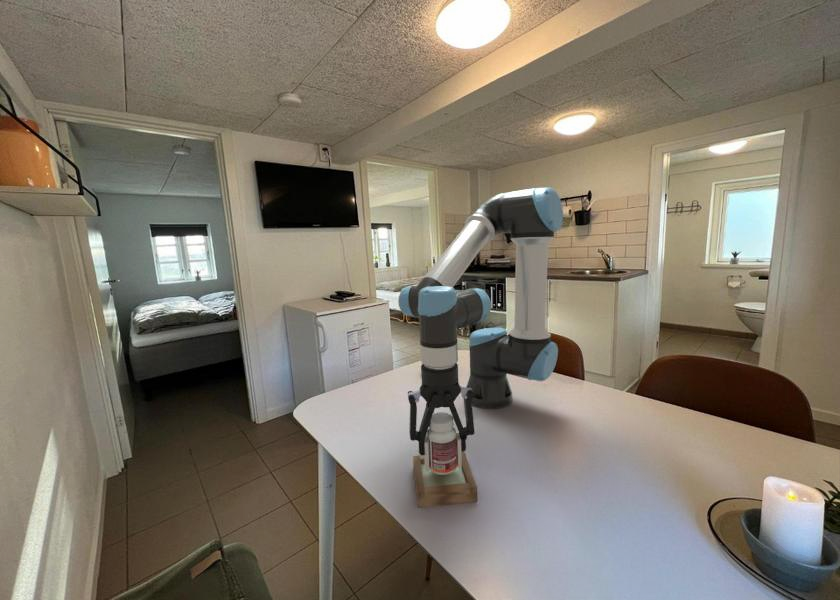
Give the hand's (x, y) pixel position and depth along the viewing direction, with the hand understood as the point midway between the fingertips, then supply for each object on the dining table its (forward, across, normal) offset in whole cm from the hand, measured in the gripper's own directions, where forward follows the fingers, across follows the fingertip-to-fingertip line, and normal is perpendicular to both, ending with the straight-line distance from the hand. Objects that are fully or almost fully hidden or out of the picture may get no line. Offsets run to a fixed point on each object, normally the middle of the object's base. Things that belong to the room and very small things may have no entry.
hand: (442, 465), depth 74 cm
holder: (+4, 0, 0) cm, 4 cm away
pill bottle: (+1, 0, 0) cm, 1 cm away
